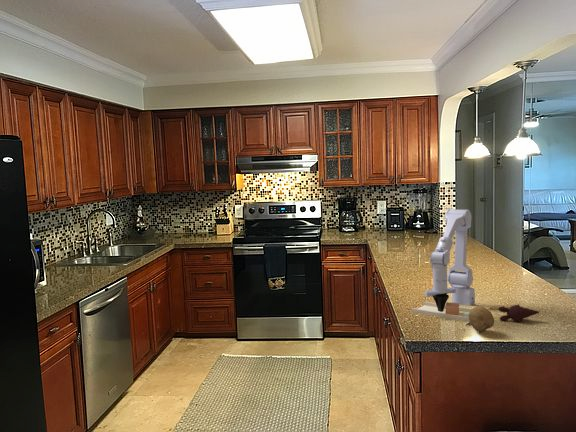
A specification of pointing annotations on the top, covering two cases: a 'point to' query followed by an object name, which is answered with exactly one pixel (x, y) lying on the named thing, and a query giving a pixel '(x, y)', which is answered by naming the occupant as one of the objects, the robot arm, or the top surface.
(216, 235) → the top surface
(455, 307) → the block
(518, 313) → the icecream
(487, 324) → the natural sponge
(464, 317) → the lane
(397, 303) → the top surface
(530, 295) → the top surface
